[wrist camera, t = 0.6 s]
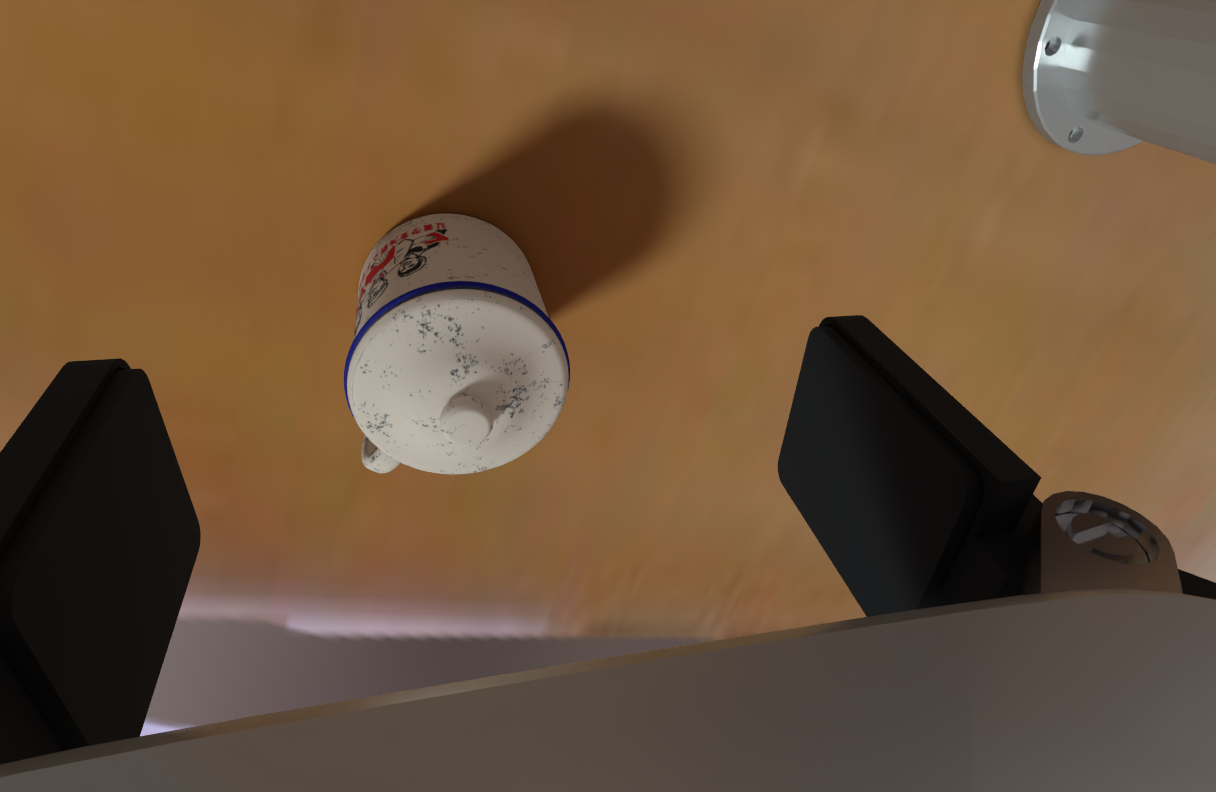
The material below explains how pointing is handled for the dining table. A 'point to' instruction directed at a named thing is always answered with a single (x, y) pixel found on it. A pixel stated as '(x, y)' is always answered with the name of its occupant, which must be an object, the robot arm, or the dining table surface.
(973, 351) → the dining table surface
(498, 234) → the teacup with lid
